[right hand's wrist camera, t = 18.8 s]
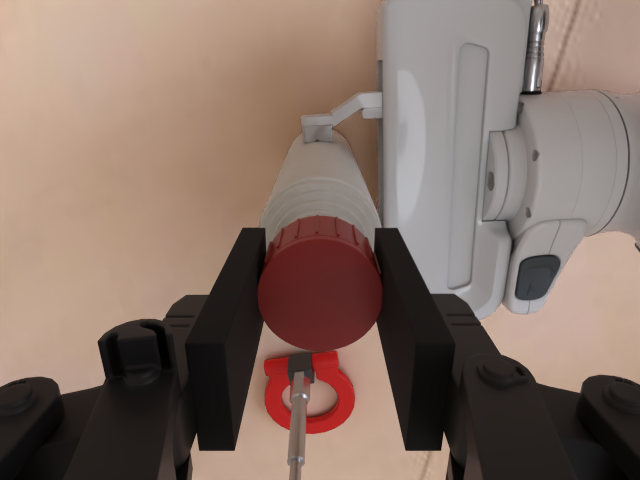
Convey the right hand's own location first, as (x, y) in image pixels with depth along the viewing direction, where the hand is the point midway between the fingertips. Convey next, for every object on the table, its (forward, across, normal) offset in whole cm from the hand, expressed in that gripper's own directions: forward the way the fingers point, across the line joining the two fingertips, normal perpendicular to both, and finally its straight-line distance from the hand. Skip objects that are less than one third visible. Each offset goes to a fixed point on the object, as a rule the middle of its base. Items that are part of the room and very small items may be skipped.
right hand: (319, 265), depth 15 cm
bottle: (+19, 0, 0) cm, 19 cm away
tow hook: (+19, -1, -22) cm, 29 cm away
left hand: (+13, -1, 0) cm, 13 cm away
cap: (-2, 0, 0) cm, 2 cm away
